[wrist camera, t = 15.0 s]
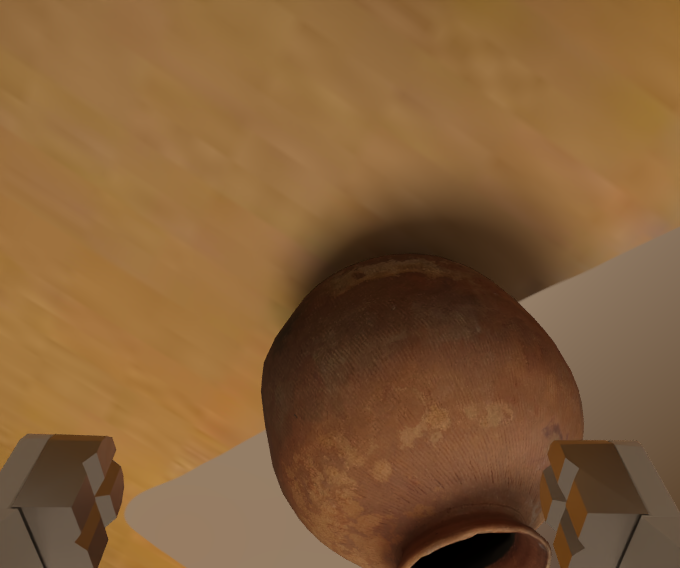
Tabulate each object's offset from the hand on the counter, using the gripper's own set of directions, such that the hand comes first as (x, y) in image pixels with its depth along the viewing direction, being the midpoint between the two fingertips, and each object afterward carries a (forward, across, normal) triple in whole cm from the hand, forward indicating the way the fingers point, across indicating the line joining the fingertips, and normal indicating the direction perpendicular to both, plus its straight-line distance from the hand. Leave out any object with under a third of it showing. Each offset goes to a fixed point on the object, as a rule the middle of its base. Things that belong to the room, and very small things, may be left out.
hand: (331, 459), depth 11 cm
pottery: (+37, -6, +24) cm, 45 cm away
